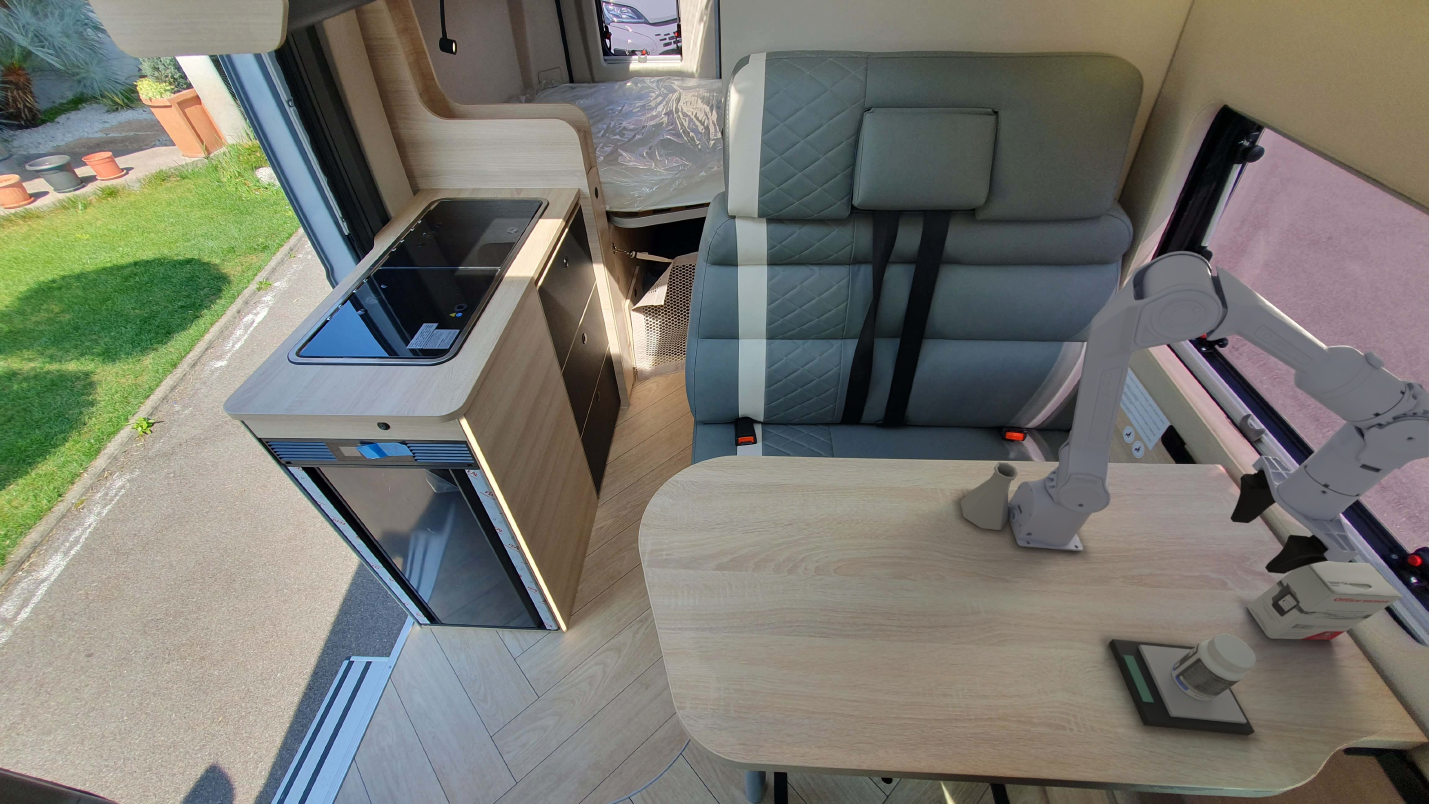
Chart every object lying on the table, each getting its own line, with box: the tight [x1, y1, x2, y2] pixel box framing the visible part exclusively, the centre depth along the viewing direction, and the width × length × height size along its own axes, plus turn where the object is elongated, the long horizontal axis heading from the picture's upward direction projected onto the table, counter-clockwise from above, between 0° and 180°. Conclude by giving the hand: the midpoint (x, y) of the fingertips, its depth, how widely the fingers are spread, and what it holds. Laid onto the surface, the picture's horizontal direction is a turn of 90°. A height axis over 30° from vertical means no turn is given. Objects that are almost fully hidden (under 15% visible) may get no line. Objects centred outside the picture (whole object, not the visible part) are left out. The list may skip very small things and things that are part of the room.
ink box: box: [1246, 561, 1403, 641], centre depth 74 cm, size 9×5×12 cm, turn 88°
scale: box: [1108, 638, 1256, 736], centre depth 71 cm, size 12×10×2 cm
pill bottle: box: [1172, 633, 1257, 701], centre depth 68 cm, size 5×5×8 cm
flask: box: [959, 461, 1019, 531], centre depth 88 cm, size 7×7×10 cm
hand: (1256, 544), depth 75 cm, fingers open, 7 cm apart
